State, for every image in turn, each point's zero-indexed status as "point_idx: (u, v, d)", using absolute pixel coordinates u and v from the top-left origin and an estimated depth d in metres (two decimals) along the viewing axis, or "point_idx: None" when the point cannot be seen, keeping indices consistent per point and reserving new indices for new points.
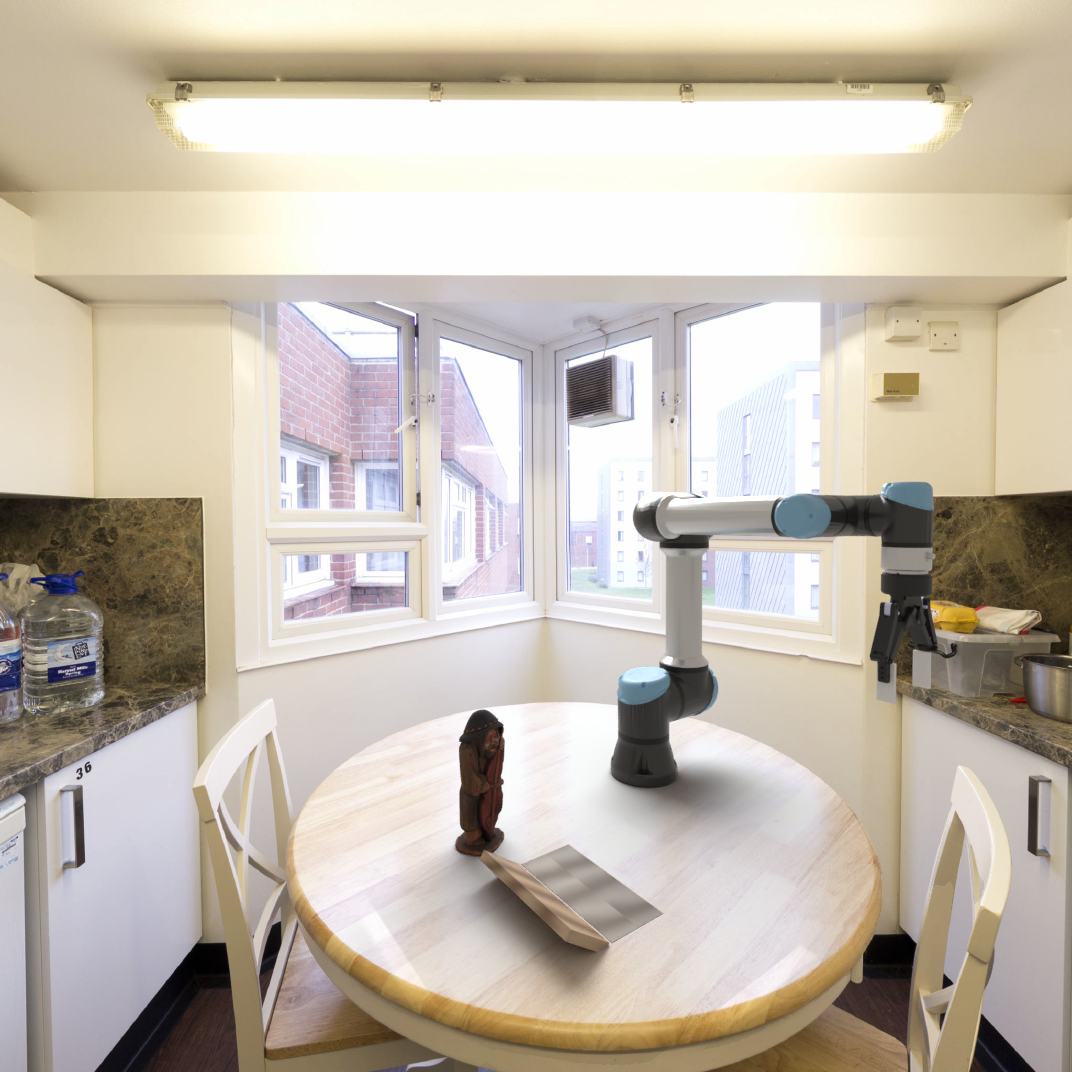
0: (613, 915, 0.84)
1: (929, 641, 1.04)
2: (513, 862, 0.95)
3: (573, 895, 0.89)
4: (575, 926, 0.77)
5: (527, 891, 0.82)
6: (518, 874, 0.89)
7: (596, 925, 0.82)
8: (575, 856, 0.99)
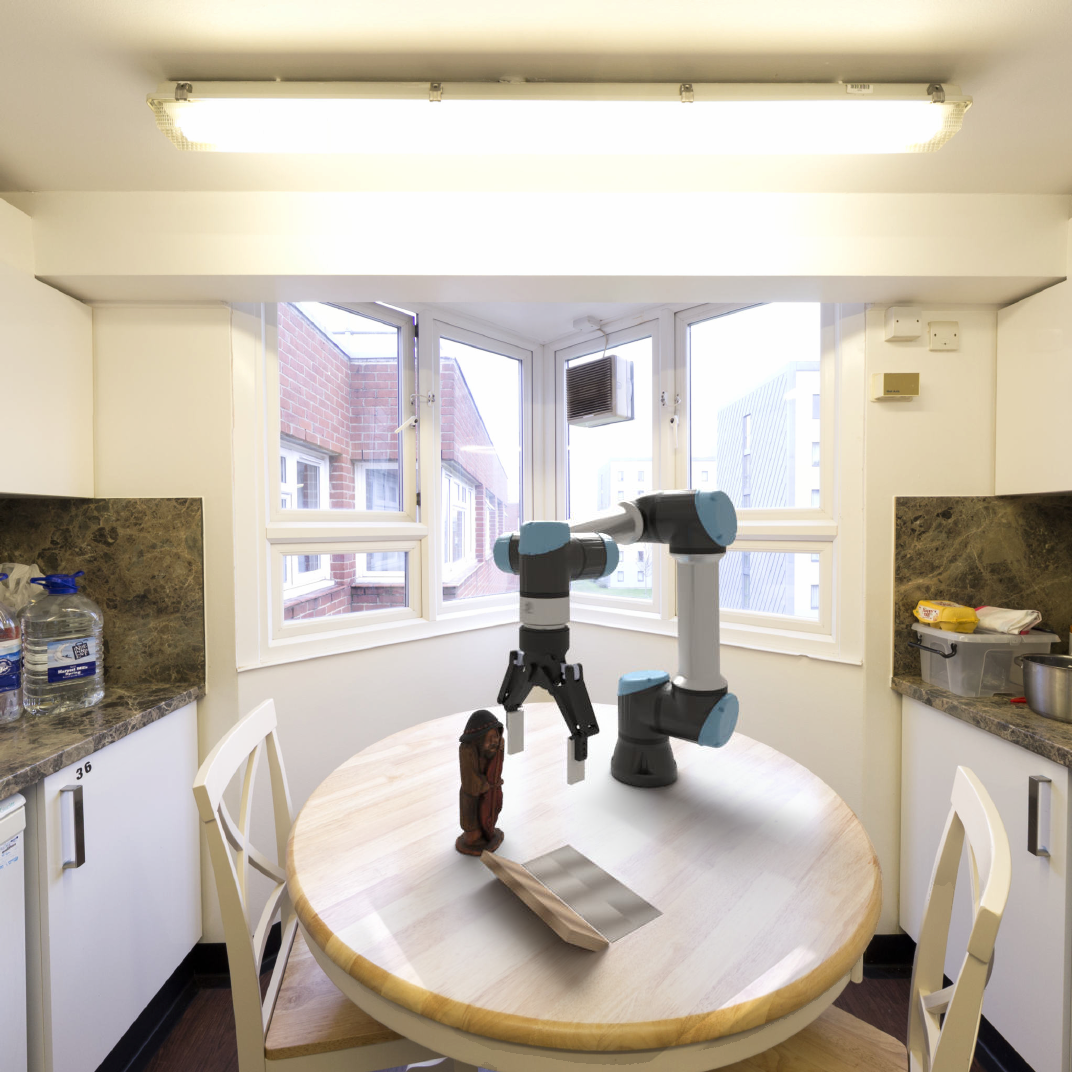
0: (613, 915, 0.84)
1: (570, 723, 0.81)
2: (513, 862, 0.95)
3: (573, 895, 0.89)
4: (575, 926, 0.77)
5: (527, 891, 0.82)
6: (518, 874, 0.89)
7: (596, 925, 0.82)
8: (575, 856, 0.99)
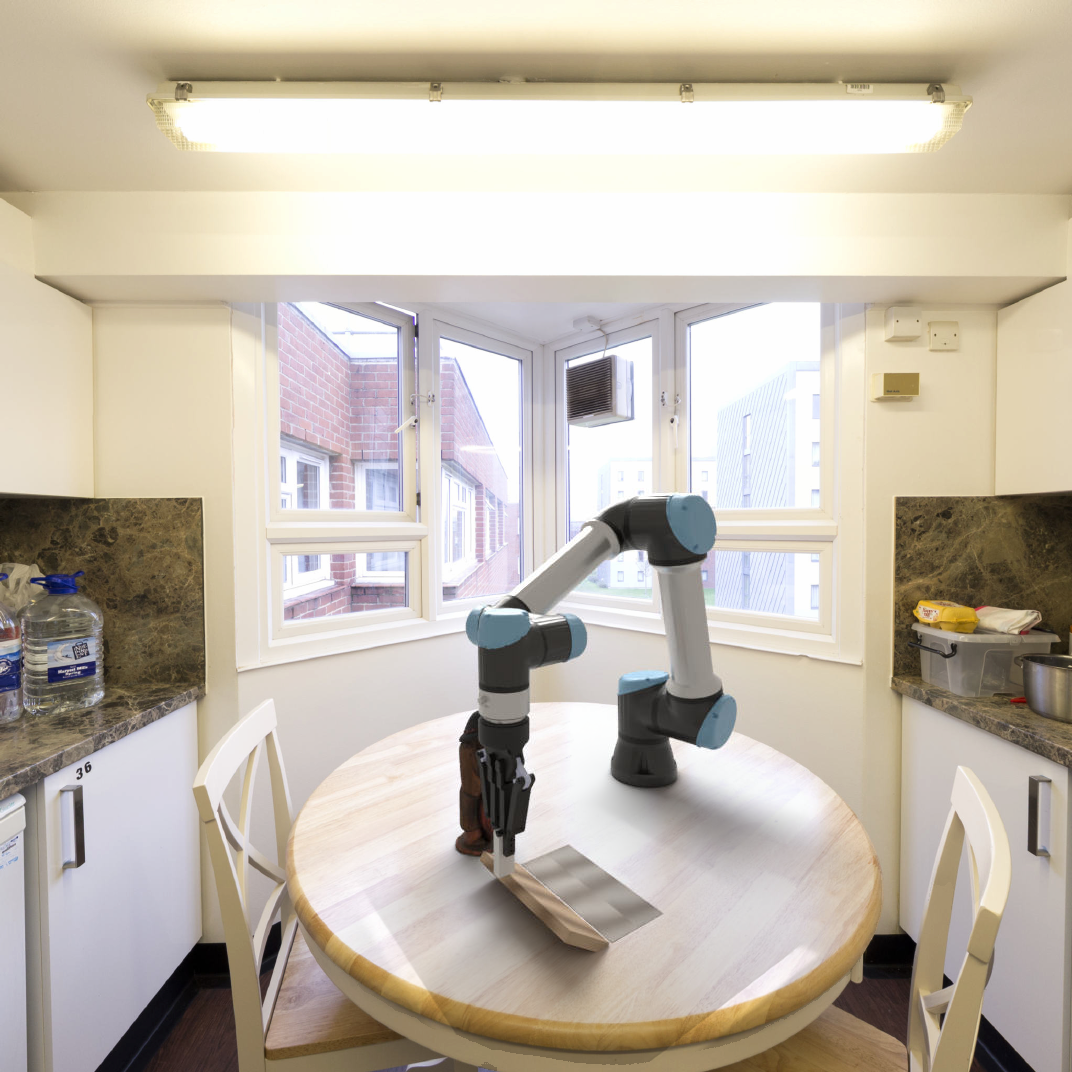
0: (613, 915, 0.84)
1: (502, 820, 0.84)
2: None
3: (573, 895, 0.89)
4: (575, 927, 0.77)
5: (526, 892, 0.82)
6: (518, 875, 0.89)
7: (596, 925, 0.82)
8: (575, 856, 0.99)
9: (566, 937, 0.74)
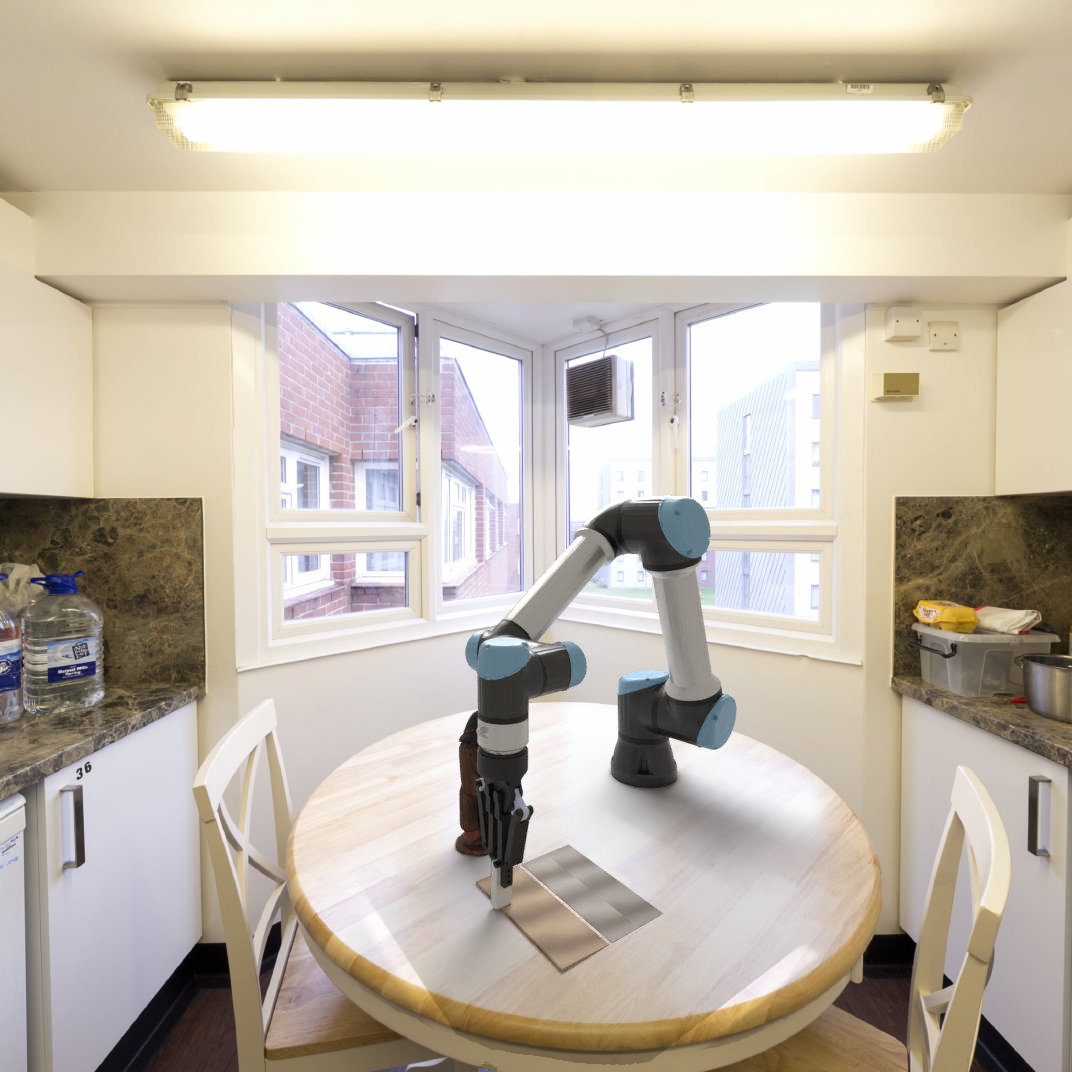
0: (613, 915, 0.84)
1: (500, 851, 0.84)
2: None
3: (573, 895, 0.89)
4: (569, 952, 0.77)
5: (519, 926, 0.82)
6: (513, 895, 0.88)
7: (596, 925, 0.82)
8: (575, 856, 0.99)
9: None
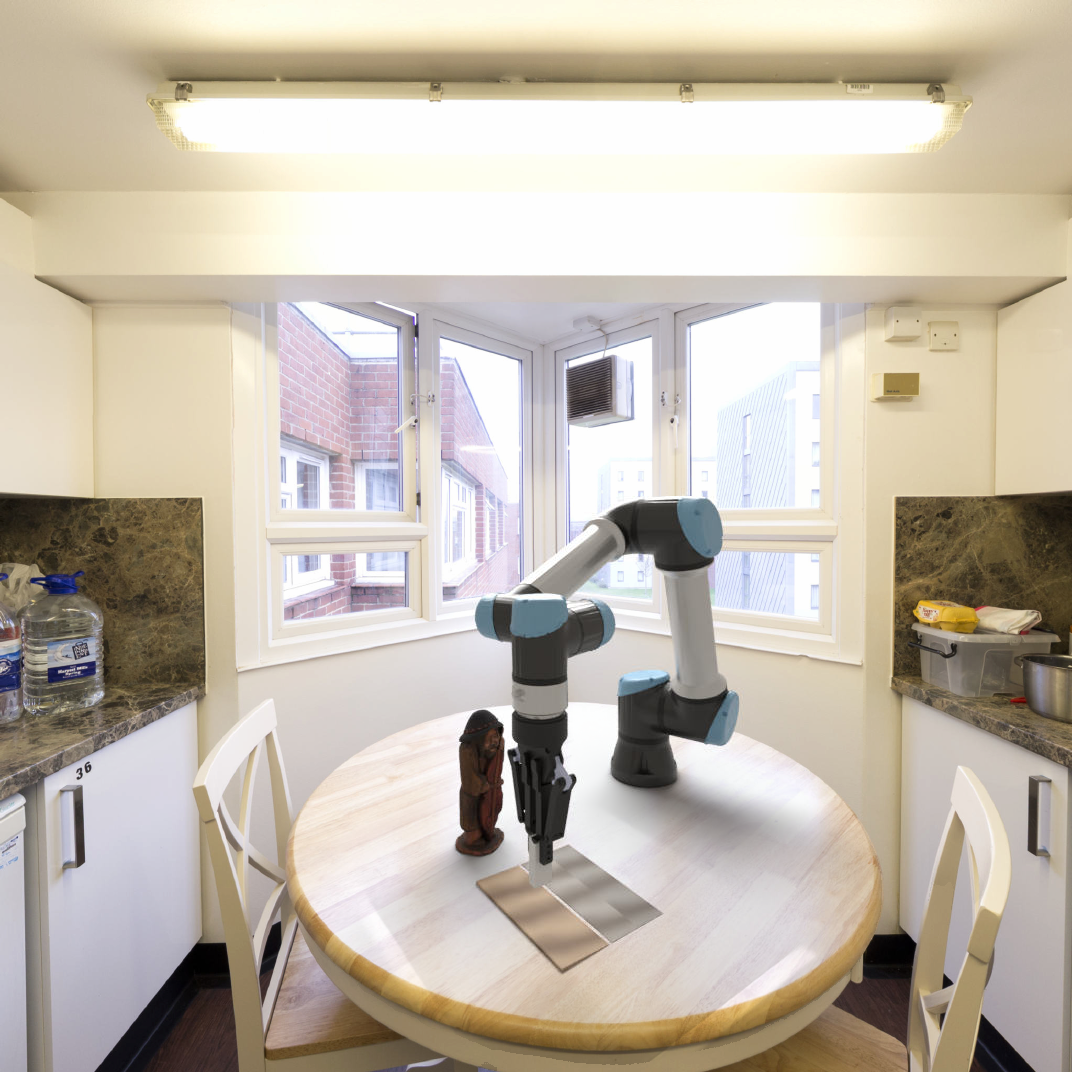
0: (613, 915, 0.84)
1: (539, 825, 0.77)
2: (511, 869, 0.95)
3: (573, 895, 0.89)
4: (569, 953, 0.77)
5: (519, 927, 0.82)
6: (513, 896, 0.88)
7: (596, 925, 0.82)
8: (575, 856, 0.99)
9: None
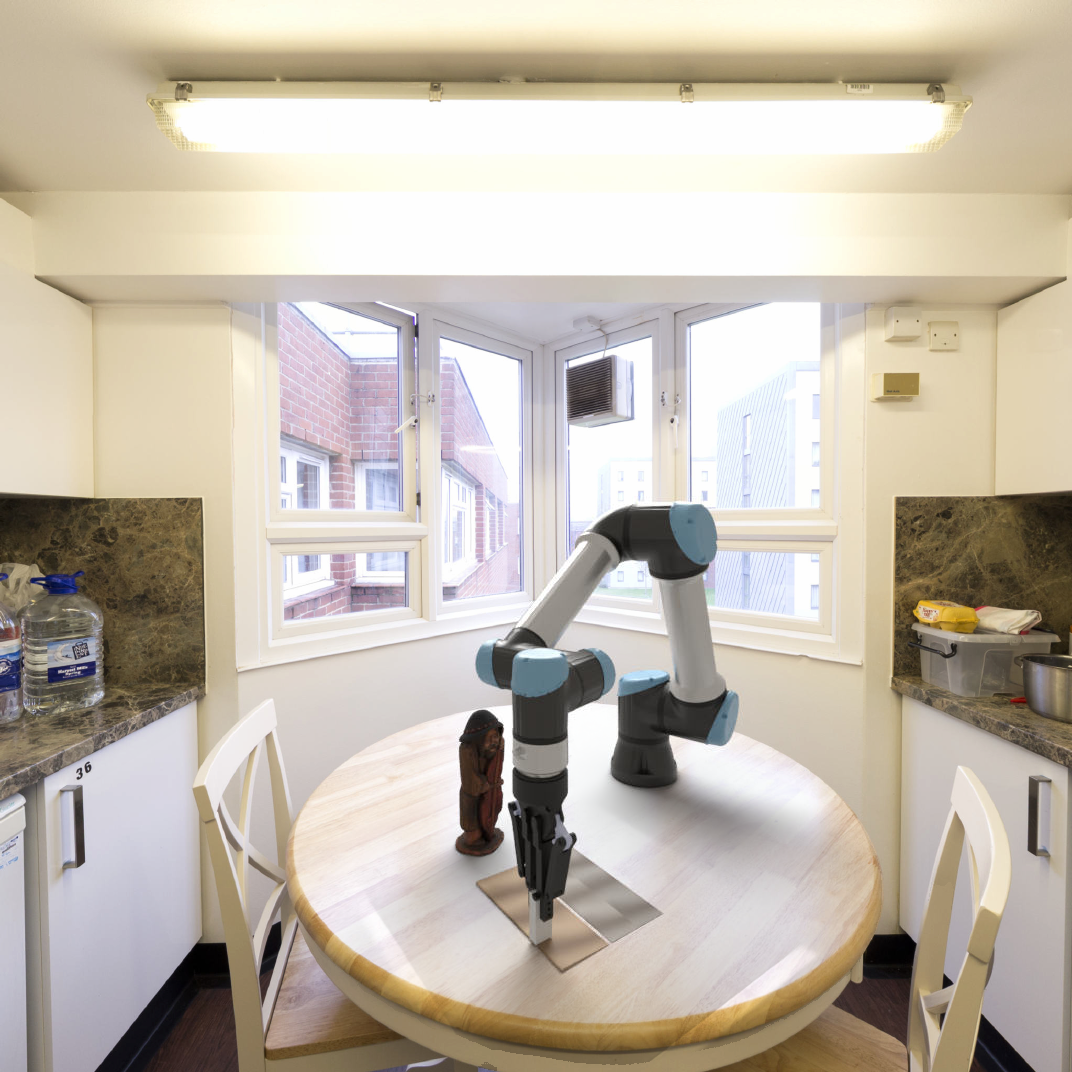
0: (613, 915, 0.84)
1: (539, 882, 0.77)
2: (511, 869, 0.95)
3: (573, 895, 0.89)
4: (569, 953, 0.77)
5: (519, 927, 0.82)
6: (513, 896, 0.88)
7: (596, 925, 0.82)
8: (575, 856, 0.99)
9: None
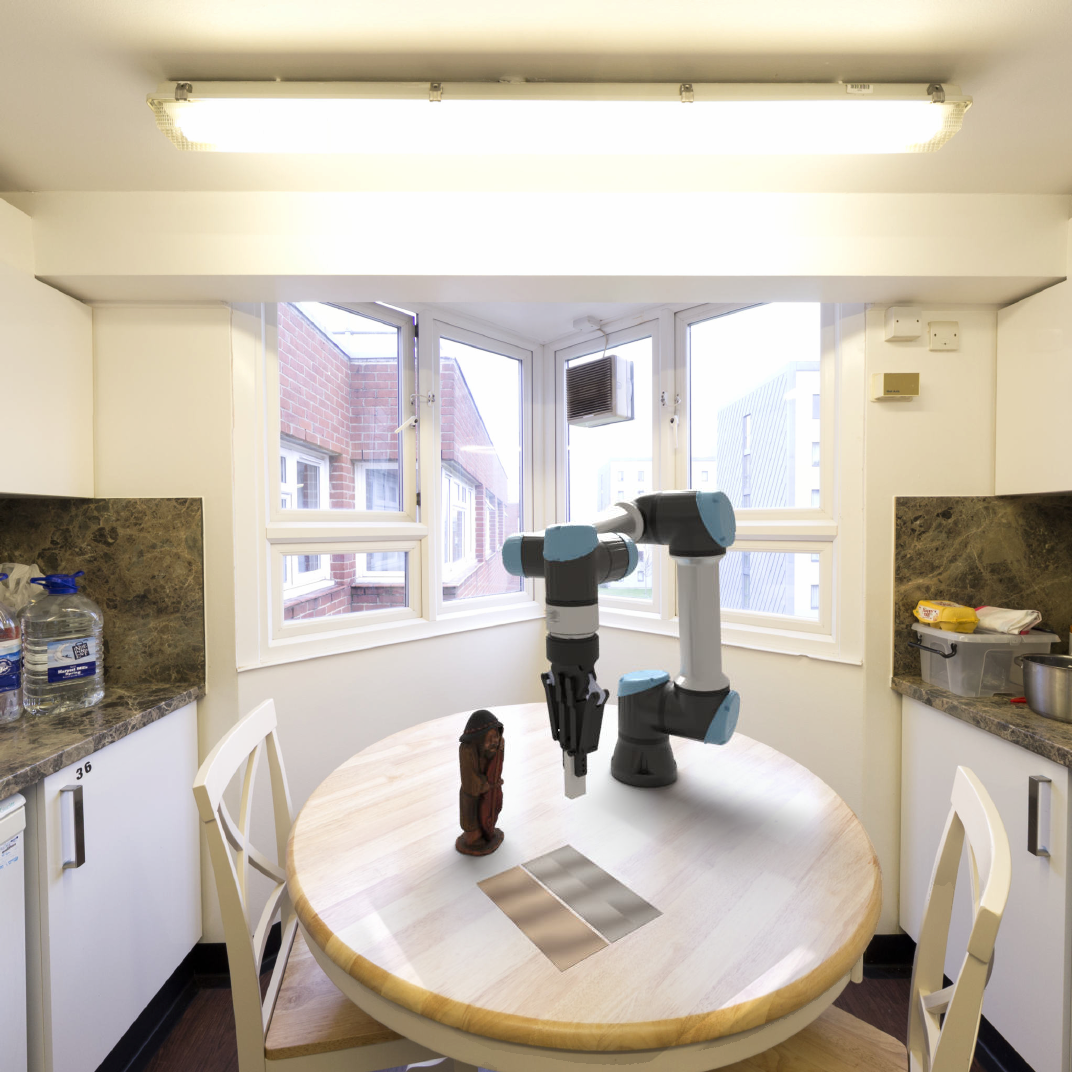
0: (613, 915, 0.84)
1: (574, 740, 0.81)
2: (511, 870, 0.95)
3: (573, 895, 0.89)
4: (569, 954, 0.77)
5: None
6: (513, 897, 0.88)
7: (596, 925, 0.82)
8: (575, 856, 0.99)
9: None
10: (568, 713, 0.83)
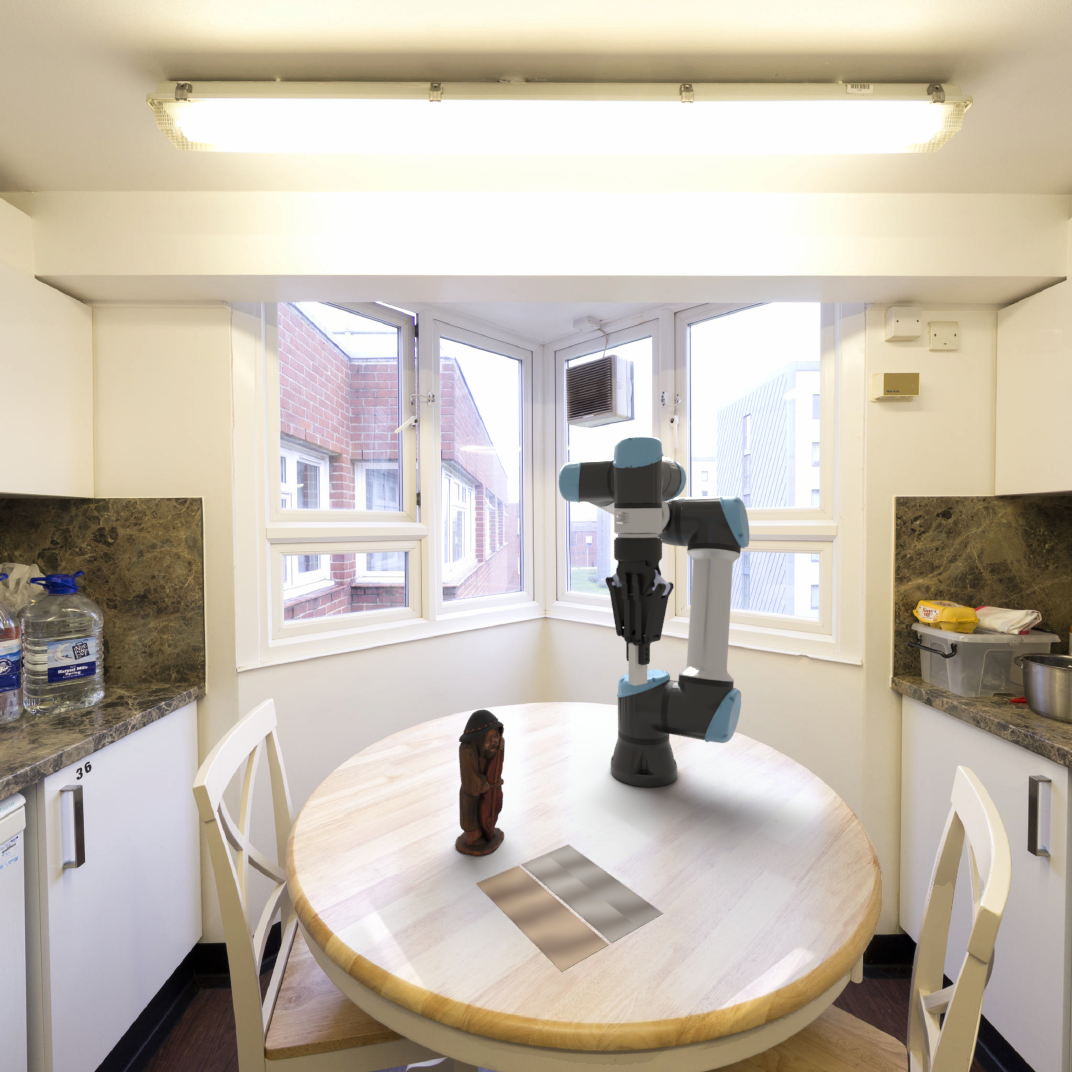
0: (613, 915, 0.84)
1: (639, 630, 0.91)
2: (511, 870, 0.95)
3: (573, 895, 0.89)
4: (569, 954, 0.77)
5: None
6: (513, 897, 0.88)
7: (596, 925, 0.82)
8: (575, 856, 0.99)
9: None
10: (632, 609, 0.93)
